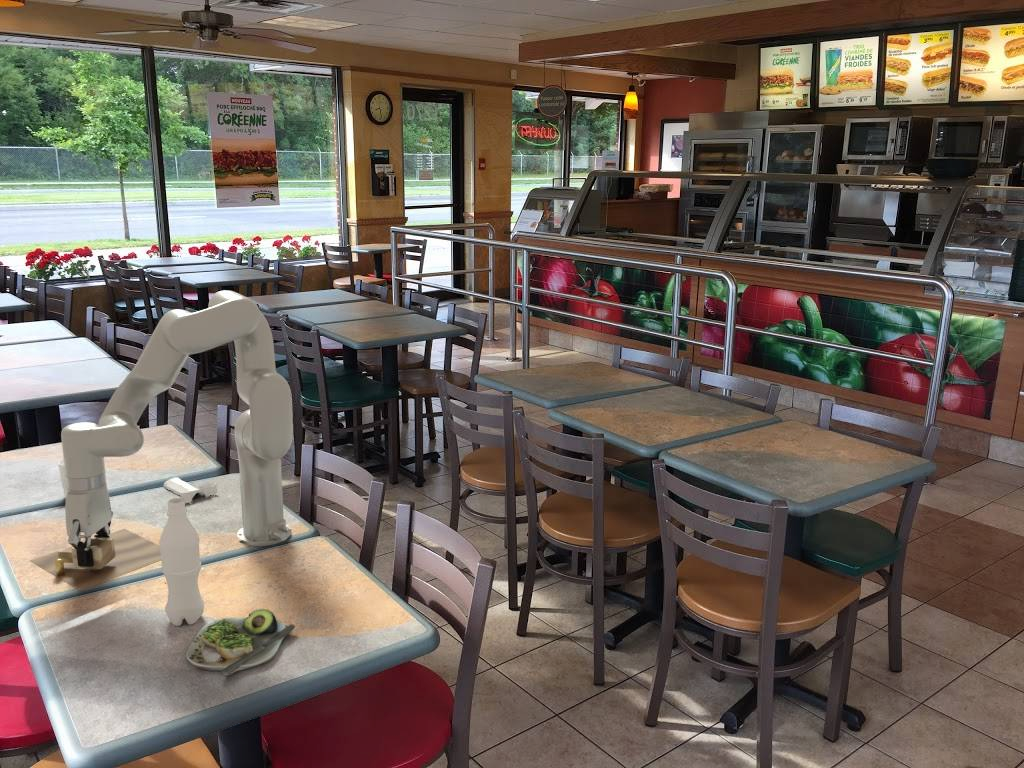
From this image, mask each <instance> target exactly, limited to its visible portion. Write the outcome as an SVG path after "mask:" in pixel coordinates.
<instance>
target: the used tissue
mask: <svg viewBox="0 0 1024 768" xmlns="http://www.w3.org/2000/svg"><path fill="white" fill-rule="evenodd" d="M165 487H166V488H165ZM163 488H165V489H166V490H167V489H168V490H171V491H173V492H175V493H176V494H175V493H174V494H175V495H177V494H178V495H177V496H179V495H180V496H179V497H180V498H183V499H184V501H185V504H190V505H192V504H193V498H194V497H195V495H196V494H197V493H198V494H197V495H199V496H201V497H205V498H208V497H211V496H210V495H212V496H213V495H214V496H213V497H215V496H216V495H217V493H219V491H218V486H217V484H215V485H213V486H211V483H206V484H204V485H201V486H198V488H196V487H194V486H192V485H190V484H189V483H188V482H187V481H184V480H182V479H181V478H179V477H177V476H176V477H171V478H168V479H167V480H166V481H164V483H163ZM168 490H167V491H168ZM171 491H170V492H171ZM173 492H172V493H173ZM191 502H192V503H191Z"/></svg>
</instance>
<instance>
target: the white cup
mask: <svg viewBox="0 0 1024 768" xmlns="http://www.w3.org/2000/svg"><path fill="white" fill-rule="evenodd" d="M57 462H58V463H57V465H58V470H59V476H60V477H59V478H60V482H61V487H62V490H63V495H64V499H66V494H67V492H68V491H67V484H66V475H65V466H64V458H63V459H60V460H58V461H57Z"/></svg>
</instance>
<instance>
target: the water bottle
mask: <svg viewBox="0 0 1024 768" xmlns="http://www.w3.org/2000/svg"><path fill="white" fill-rule="evenodd" d="M185 505H186V503H185V501H184V499H183V498H182V497H174V498H170V499H168V500H167V512H166V515H167V521H166V524H165V525H164V527H163V529H162V532H161V534H160V536H159V537H160V538H159V541H158V543H159V544H158V545H159V546H160V550H161V560H160V561H161V569H160V571H161V572H162V574H163V576H164V579H165V580H166V584H167V589H168V590H167V591H168V592H167V601H166V604H165V607H164V612H165V614H166V616H167V618H168V620H169V622H170V623H171V624H172V625H174V626H176V627H178V626H181V625H182V623H183V621H184V619H185V621H186V623H187V624H188V625H193V624H195V623H196V622H197V621H199V618H201V616H202V615H203V614H204V610H205V600H204V598H203V597H202V595H201V594H202V593H201V591H200V588H199V581H198V579H199V575H200V572H201V569H202V562H201V561H202V560H201V555H200V554H201V553H200V537H199V536H200V535H199V533H198V531H197V530H196V529H197V528H196V527H194V525H193V523H191V521H190V519H189V518H188V516H187V511H188V509H187V507H186V506H185Z"/></svg>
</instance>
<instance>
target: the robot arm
mask: <svg viewBox="0 0 1024 768" xmlns="http://www.w3.org/2000/svg"><path fill="white" fill-rule="evenodd" d="M270 327H271V326H270V325H269V322H268V320H267V319H266V317H265V315H264V314H263V313H262V312H261V310H260V308H259V305H258V304H257V303H256V302H254V301H253V300H252V299H251V298H249V297H248V296H245V295H242V294H241V293H238V292H236V291H234V290H225V289H223V290H220V291H217V292H215V293H214V294H213V295H212V296H211V298H210V299H209V302H208V307H207V308H204V309H202V310H199V311H195V312H191V311H188V310H185V309H181V308H180V309H178V308H177V309H176V308H175V309H171V310H169V311H167V312H165V314H163V316H162V317H161V319H160V320H159V321H158V324H157V325H156V327H155V329H154V330H153V332H152V334H151V335H150V337H149V340H148V341H147V343H146V345H145V347H144V349H143V351H142V353H141V355H140V356H139V358H138V360H137V362H136V363H135V365H134V367H133V369H132V370H131V371H130V372H129V373H128V374H127V376H126V377H125V378H124V380H123V381H122V382H120V384H119V386H118V387H117V388H116V389H115V391H114V393H113V394H112V396H111V398H110V399H109V401H108V403H107V404H106V407H105V409H104V410H103V412H102V414H101V416H100V418H99V421H98V424H97V423H94V422H91V421H90V422H89V421H86V422H85V421H81V422H75V423H71V424H68V425H66V426H64V427H63V428H62V430H61V433H60V437H61V440H60V441H61V448H62V456H63V459H64V466H65V475H66V484H67V491H68V492H67V494H66V498H65V508H64V509H65V528H66V529H65V530H66V534H67V536H68V539H67V543H68V544H69V545H70V546H71V547H74V549H75V550H76V552H77V561H78V566H80V567H92V566H93V565H94V562H93V552H92V549H90V542H91V537H105V538H110V537H109V534H110V533H111V528H110V527H111V525H112V518H113V516H114V511H113V510H112V506H111V499H110V494H109V490H108V486H107V475H106V466H105V465H106V464H105V458H124V457H130V456H132V455H134V454H137V453H138V452H139V451H140V450H141V449H142V447H143V446H144V441H145V437H144V433H143V431H142V429H141V428H140V427H139V426H138V424H137V423H138V422H139V420H140V419H141V416H142V414H143V412H145V409H146V408H147V406H148V405H149V404H150V402H151V401H152V400H153V399H154V398H155V397H156V396H157V395H159V394H161V393H163V392H166V391H167V390H169V389H170V388H171V387H172V386H173V385H174V383H175V381H176V379H177V377H178V376H179V373H180V372H181V370H182V369H183V367H184V365H185V362H186V361H187V359H188V357H189V355H194V354H195V355H196V354H199V353H203V352H206V351H209V350H211V349H214V348H217V347H220V346H223V345H225V344H228V343H231V342H233V344H234V349H235V350H234V351H235V359H236V361H235V362H236V390H237V392H236V393H237V394H238V396H239V398H240V399H241V400H242V402H244V403H246V404H247V405H248V406H249V409H247V410H244V411H243V412H242V413H240V415H239V416H238V417H237V419H236V421H235V425H234V440H235V441H234V442H235V445H236V451H237V456H238V457H237V458H238V468H239V484H240V501H241V503H240V504H241V516H242V519H241V520H242V527H241V528H239V529H238V531H237V533H236V536H237V538H239V541H238V542H239V543H241V544H242V545H246V546H249V547H266V546H273V545H276V544H280V543H282V542H284V541H286V540H287V539H288V538H289V537H291V534H292V528H291V527H290V525H288V524H287V520H286V519H284V518H285V517H284V497H283V495H284V494H283V478H282V476H283V475H282V473H283V472H282V459H281V458H283V457H284V456H285V455H286V454H287V453H289V450H290V448H291V446H292V442H293V438H294V437H293V435H294V429H293V427H294V426H293V424H294V422H293V419H294V418H293V398H292V396H293V395H292V390H291V387H290V385H289V383H288V381H287V380H286V378H284V376H283V375H281V374H280V373H278V372H277V367H276V359H275V347H274V337H273V333H272V330H271V328H270ZM82 533H83V534H82ZM81 539H85V543H83V542H82V540H81Z"/></svg>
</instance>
